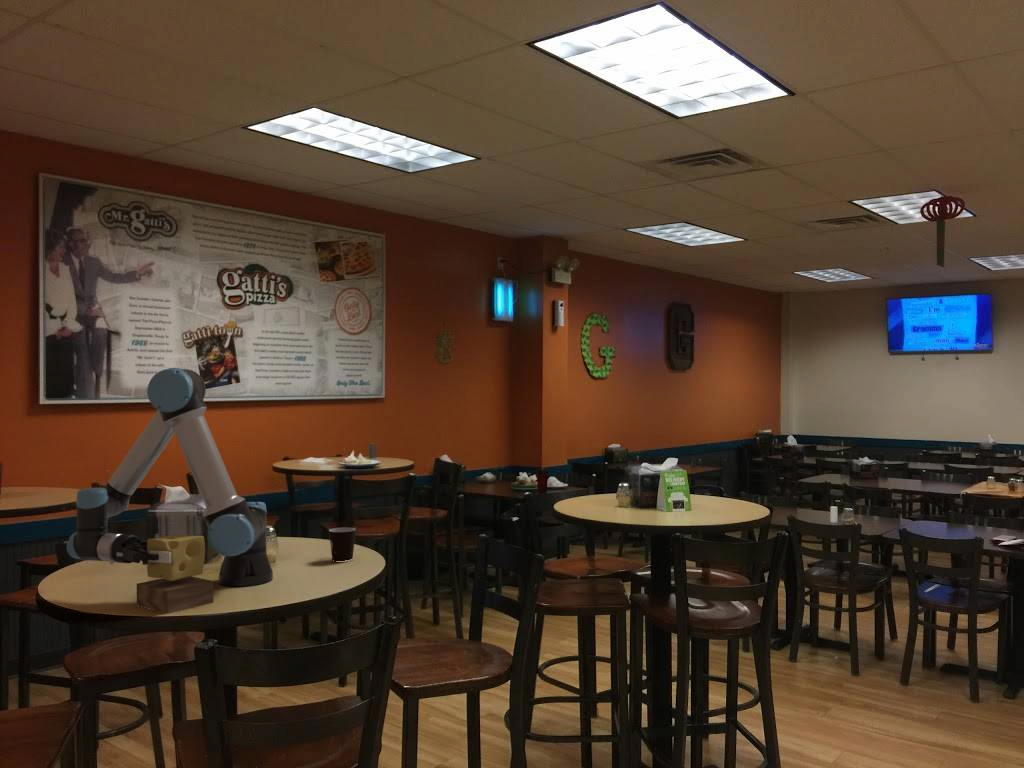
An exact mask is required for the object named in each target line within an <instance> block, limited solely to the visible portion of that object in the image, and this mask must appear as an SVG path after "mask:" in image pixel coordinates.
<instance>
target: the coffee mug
mask: <svg viewBox="0 0 1024 768" xmlns="http://www.w3.org/2000/svg"><path fill="white" fill-rule="evenodd" d="M356 532H357V531H356V528H355V527H336V528H330V529H329V530H328V536H329V542H330V550H331V560H334V561H345V560H350V559H352V558H353V559H354V548H355V541H356V540H355V539H356Z"/></svg>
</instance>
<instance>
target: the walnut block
mask: <svg viewBox="0 0 1024 768" xmlns="http://www.w3.org/2000/svg"><path fill="white" fill-rule="evenodd" d="M213 603H214V581H213V580H210V579H206V578H201V577H196V576H190V577H185V578H181V579H177V580H174V581H169V580H165V579H163V578H156V579H153V580H148V581H143V582H138V583H136V606H137V605H139V606H138V607H140V606H142V607H141V608H144V607H146V608H145V609H148V608H150V609H149V610H152V609H153V610H152V611H155V610H156V612H159V611H160V612H161V613H163V612H164V613H165V614H172V613H176V612H181V611H185V610H189V609H193V608H196V607H201V606H205V605H209V604H213ZM164 613H163V614H164Z"/></svg>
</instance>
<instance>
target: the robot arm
mask: <svg viewBox="0 0 1024 768" xmlns="http://www.w3.org/2000/svg"><path fill="white" fill-rule="evenodd" d="M206 386H207V385H206V383H205V381H204V379H203V378H202V376H201V375H200V373H197V372H196V371H194V370H192V369H188V368H177V367H168V368H165V369H162V370H160V371H158V372H156V373H155V374H154V375H153V376H152V377H151V379H150V380H149V382H148V385H147V391H146V393H147V397H148V400H149V403H150V404H151V405H152V406H153V408H155V409H156V410H157V411H156V412H155V413H154V415H153V416H152V418H151V419H150V421H149V422H148V424H147V425H146V426H145V428H144V429H143V431H142V432H141V433H140V435H139V436H138V438H137V439H136V441H135V442H134V443H133V445H132V446H131V448H130V449H129V450H128V452H127V454H126V455H125V457H124V458H123V459H122V461H121V463H120V464H119V465H118V467H117V469H116V470H115V471H114V472H113V474H112V475H111V477H110V478H109V480H108V481H107V482H106V485H105V486H104V487H86V488H81V489H79V490H78V491H77V492H76V501H75V505H76V532H73V533H72V534H71V535H70V536H69V538H68V542H67V543H66V551H67V553H68V554H69V556H70V558H71V557H72V558H74V559H77V560H82V561H95V562H96V561H97V562H109V564H110V565H114V564H115V563H120V564H131V563H134V564H140V563H141V562H142V565H146V566H147V564H148V560H149V562H160V563H171V552H165V551H149V553H148V552H147V541H146V540H141V539H140V538H139V537H138V536H137V535H134V534H127V533H126V534H123V533H111V532H108V525H109V524H108V521H109V520H108V519H109V518H111V517H115V516H118V515H120V514H121V513H123V512H124V511H126V509H127V508H128V507H129V504H130V499H131V498H132V495H133V494H134V493H135V492H136V490H137V489H138V487H139V486H140V484H142V483H141V482H142V481H143V480H144V478H145V477H146V475H147V474H148V472H149V471H150V470H151V468H152V466H153V465H154V464H155V463H156V461H157V460H158V458H159V457H160V456H161V454H162V452H163V451H164V450H165V448H166V447H167V445H168V444H169V443H170V441H171V440H172V438H173V437H174V435H175V436H176V439H177V441H178V444H179V446H180V448H181V451H182V453H183V455H184V457H185V460H186V463H187V465H188V466H189V467H188V468H189V469H190V473H191V475H192V477H193V479H194V482H195V484H196V486H197V489H198V491H199V494H200V496H201V498H202V501H203V503H204V505H205V511H204V512H203V518H204V521H205V523H206V526H207V528H208V530H207V541H208V543H209V545H210V547H211V548H212V550H214V551H215V553H217V554H219V555H221V556H223V557H224V558H223V561H222V564H221V566H220V570H219V572H218V573H219V574H218V584H220V585H222V586H226V587H246V586H247V587H248V586H255V585H256V586H257V585H261V584H265V583H269V582H272V580H273V579H274V572H273V568H272V567H271V566H272V565H271V562H270V560H269V556H268V553H267V515H268V511H267V505H266V503H265V502H262V501H247V500H246V498H245V497H242V496H240V495H238V494H237V492H236V489H235V486H234V485H233V482H232V480H231V478H230V477H231V476H230V474H229V472H228V471H227V468H226V466H225V463H224V461H223V459H222V456H221V454H220V451H219V449H218V446H217V444H216V442H215V438H214V436H213V434H212V432H211V429H210V428H209V427H210V426H209V425H208V422H207V419H206V418H205V413H206V411H207V408H208V407H207V404H206V403H205V400H204V399H205V397H206V391H207V388H206Z"/></svg>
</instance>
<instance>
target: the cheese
mask: <svg viewBox="0 0 1024 768" xmlns="http://www.w3.org/2000/svg"><path fill="white" fill-rule="evenodd" d="M149 551H165V552H171V563H160V562H149V560H148V564H146V571H147V577H149V578H155V579H162V578H163V579H165V580H169V581H174V580H177V579H181V578H185V577H190V576H192V577H196V576H198V575H203V569H204V565H205V559H206V542H205V537H204V535H189V534H181V533H175V534H171V535H165V536H161V537H153V538H148V539H147V552H148V553H149Z"/></svg>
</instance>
